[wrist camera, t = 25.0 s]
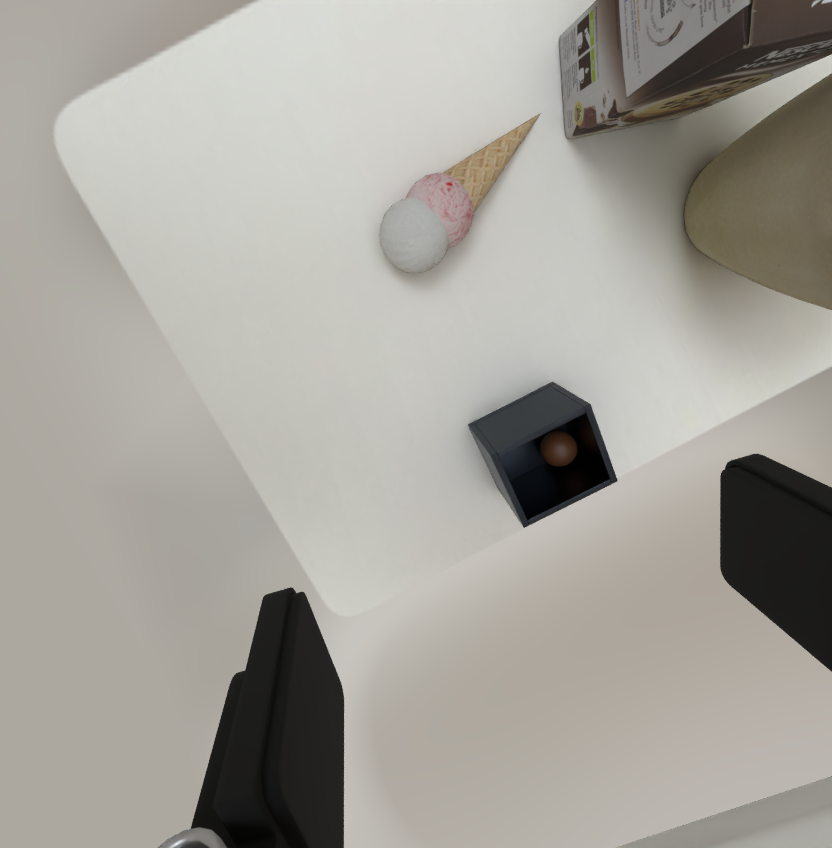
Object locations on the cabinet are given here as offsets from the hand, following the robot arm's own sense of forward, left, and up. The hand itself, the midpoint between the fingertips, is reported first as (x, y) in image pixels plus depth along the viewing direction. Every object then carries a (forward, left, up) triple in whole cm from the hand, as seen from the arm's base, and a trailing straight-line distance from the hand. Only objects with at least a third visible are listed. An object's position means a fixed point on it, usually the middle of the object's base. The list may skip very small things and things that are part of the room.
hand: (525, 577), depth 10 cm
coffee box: (+20, +14, -28) cm, 38 cm away
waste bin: (+9, -11, -28) cm, 31 cm away
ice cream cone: (+7, +10, -28) cm, 31 cm away
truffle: (+11, -11, -26) cm, 31 cm away
